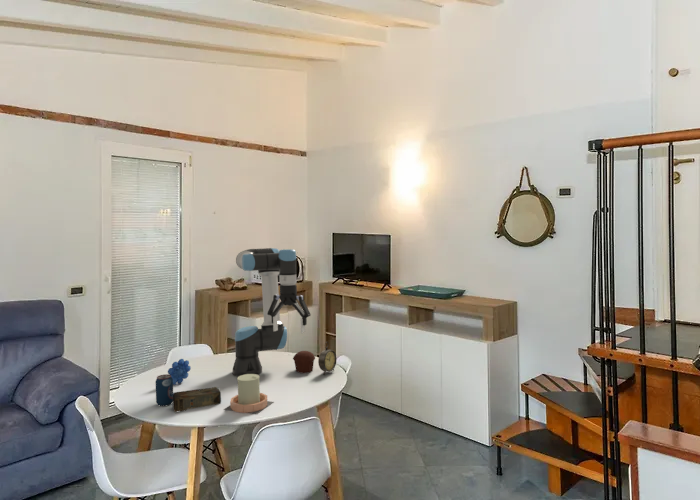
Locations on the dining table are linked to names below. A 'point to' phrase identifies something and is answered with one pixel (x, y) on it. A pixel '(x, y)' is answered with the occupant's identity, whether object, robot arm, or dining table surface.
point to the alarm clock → (327, 360)
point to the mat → (252, 412)
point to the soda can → (164, 390)
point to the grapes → (179, 371)
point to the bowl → (249, 407)
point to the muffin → (304, 361)
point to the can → (248, 389)
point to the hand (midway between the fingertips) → (289, 331)
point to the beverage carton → (196, 398)
